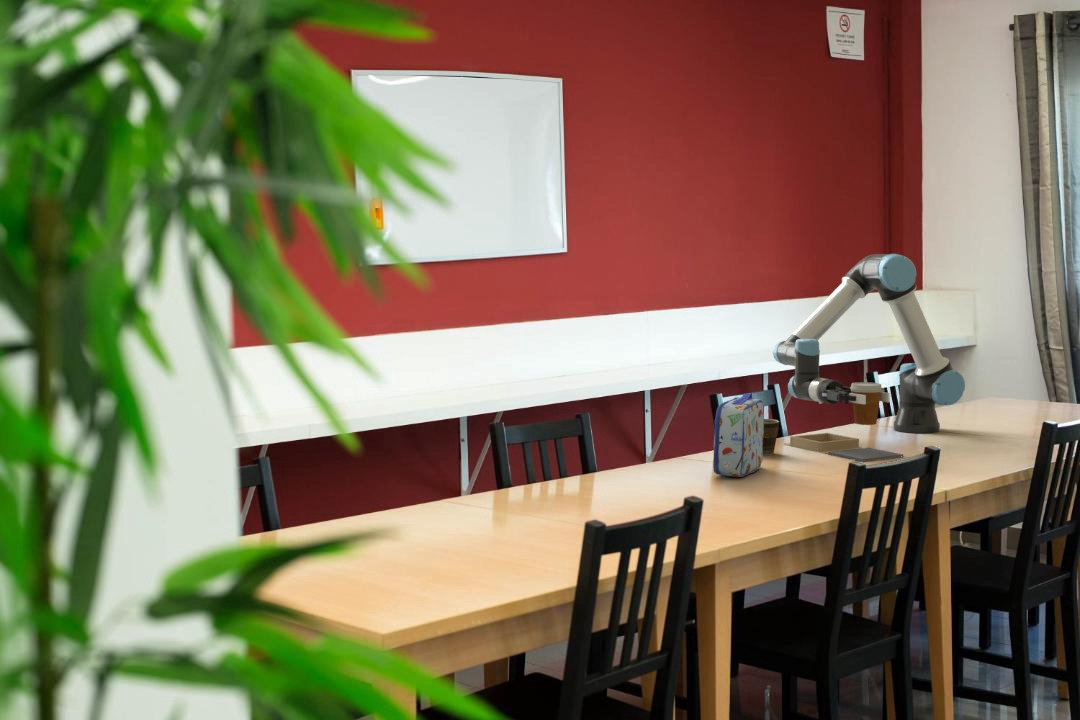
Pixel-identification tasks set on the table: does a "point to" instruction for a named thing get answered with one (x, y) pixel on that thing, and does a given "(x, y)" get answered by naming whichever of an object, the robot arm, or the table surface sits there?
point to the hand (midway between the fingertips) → (876, 398)
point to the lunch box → (738, 436)
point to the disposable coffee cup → (868, 411)
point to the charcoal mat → (865, 454)
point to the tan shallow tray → (824, 442)
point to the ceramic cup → (769, 436)
